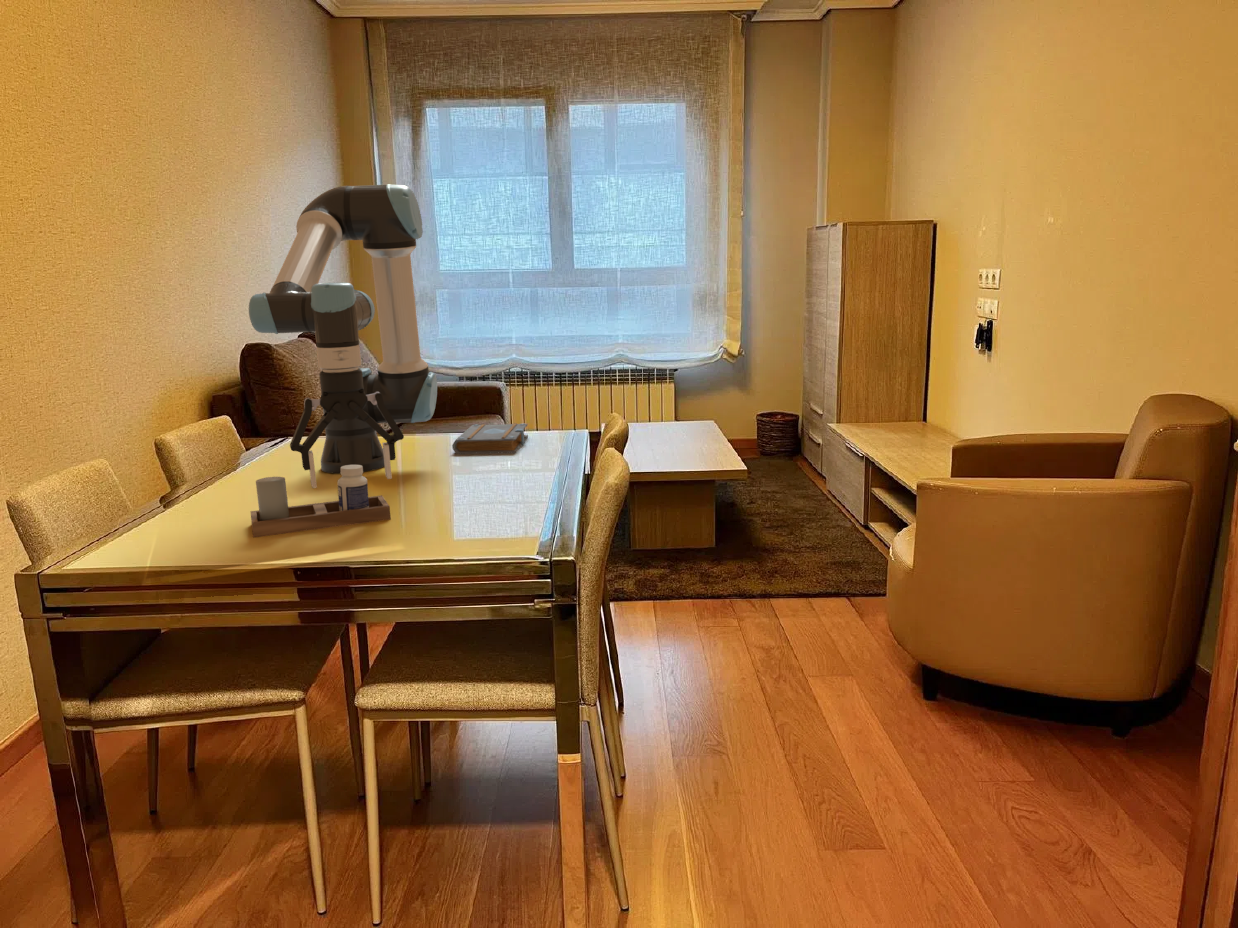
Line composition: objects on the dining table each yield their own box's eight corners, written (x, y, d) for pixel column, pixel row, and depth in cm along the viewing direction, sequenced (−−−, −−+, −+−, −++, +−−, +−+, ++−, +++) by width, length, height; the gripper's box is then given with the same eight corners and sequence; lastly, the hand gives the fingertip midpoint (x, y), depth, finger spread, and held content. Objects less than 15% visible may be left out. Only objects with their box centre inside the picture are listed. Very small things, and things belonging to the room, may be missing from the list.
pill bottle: (375, 514, 175) (372, 464, 173) (358, 521, 170) (355, 470, 168) (350, 512, 177) (347, 462, 174) (333, 519, 172) (330, 468, 169)
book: (470, 439, 253) (469, 421, 252) (529, 438, 252) (528, 420, 251) (453, 456, 233) (451, 436, 231) (517, 454, 232) (516, 435, 231)
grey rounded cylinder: (260, 525, 169) (255, 478, 167) (289, 522, 171) (284, 475, 169) (261, 532, 165) (256, 484, 163) (291, 529, 167) (285, 481, 165)
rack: (252, 529, 171) (250, 511, 170) (383, 512, 180) (382, 495, 179) (253, 542, 163) (251, 523, 162) (391, 524, 172) (389, 506, 171)
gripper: (268, 377, 159) (282, 495, 164) (413, 366, 168) (422, 477, 173) (266, 372, 166) (280, 485, 171) (405, 361, 175) (414, 469, 180)
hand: (351, 481), depth 172 cm, fingers open, 13 cm apart
